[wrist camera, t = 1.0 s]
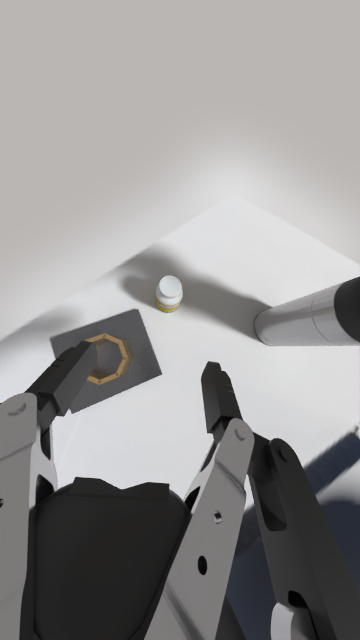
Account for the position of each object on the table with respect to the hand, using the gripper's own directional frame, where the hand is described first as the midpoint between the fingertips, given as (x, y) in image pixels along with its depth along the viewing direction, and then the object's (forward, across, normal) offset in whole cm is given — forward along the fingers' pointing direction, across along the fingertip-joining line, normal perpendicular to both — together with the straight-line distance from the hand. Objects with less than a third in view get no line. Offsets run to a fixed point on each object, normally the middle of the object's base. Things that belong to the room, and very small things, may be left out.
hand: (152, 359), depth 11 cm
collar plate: (+14, +10, +18) cm, 25 cm away
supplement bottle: (+24, 0, +8) cm, 25 cm away
